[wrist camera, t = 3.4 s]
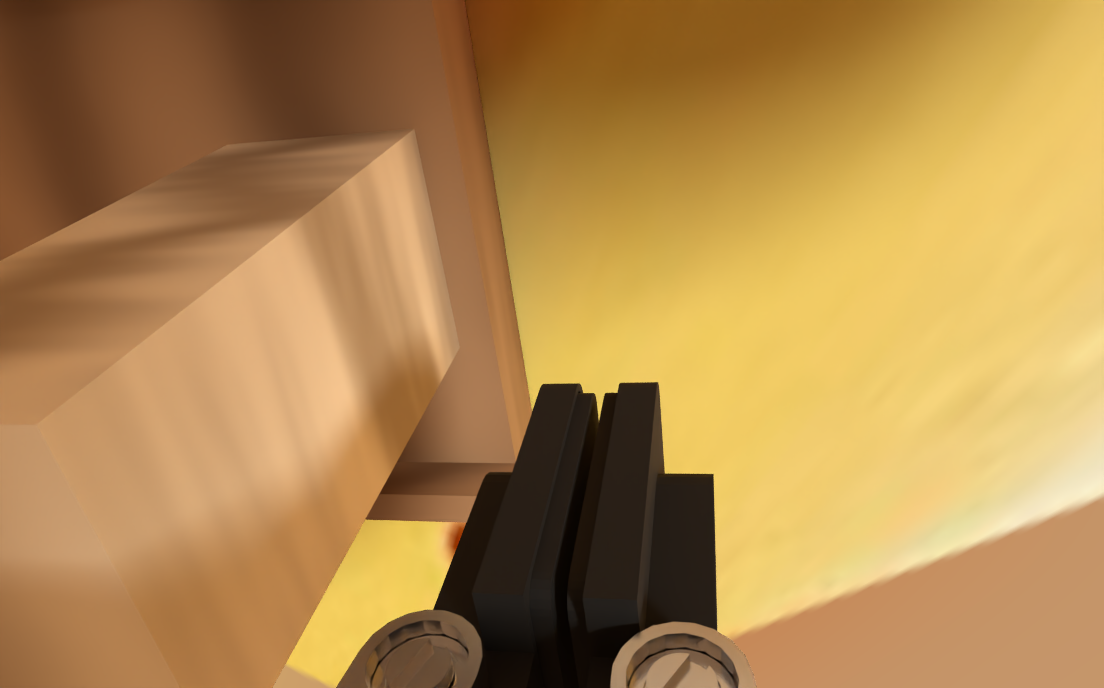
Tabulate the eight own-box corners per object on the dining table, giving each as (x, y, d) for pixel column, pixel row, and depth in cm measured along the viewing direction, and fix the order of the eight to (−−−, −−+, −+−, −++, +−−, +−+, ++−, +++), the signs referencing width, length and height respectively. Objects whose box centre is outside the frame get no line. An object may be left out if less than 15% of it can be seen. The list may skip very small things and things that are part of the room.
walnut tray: (445, -120, 18) (382, -125, 14) (536, 439, 25) (509, 523, 22) (-218, -16, 22) (-388, 0, 18) (33, 437, 30) (-54, 506, 26)
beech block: (414, 128, 18) (36, 425, 8) (459, 347, 21) (225, 771, 11) (227, 144, 19) (-320, 424, 9) (295, 350, 22) (-60, 740, 12)
